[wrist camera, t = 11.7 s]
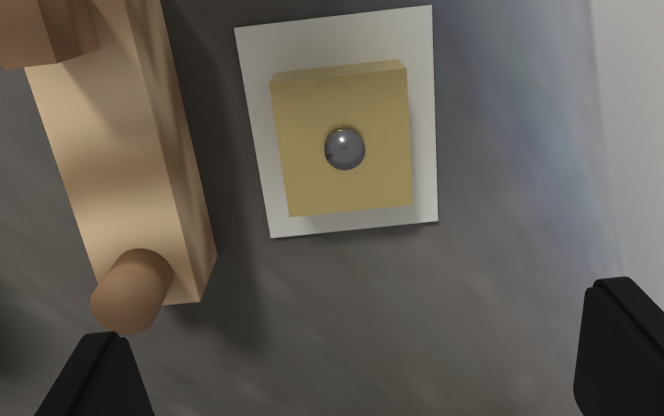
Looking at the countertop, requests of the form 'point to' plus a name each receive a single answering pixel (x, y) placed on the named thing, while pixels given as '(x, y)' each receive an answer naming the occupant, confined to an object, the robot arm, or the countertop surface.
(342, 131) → the lever cap
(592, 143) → the countertop surface
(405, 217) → the mat
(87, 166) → the plane body
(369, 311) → the countertop surface
